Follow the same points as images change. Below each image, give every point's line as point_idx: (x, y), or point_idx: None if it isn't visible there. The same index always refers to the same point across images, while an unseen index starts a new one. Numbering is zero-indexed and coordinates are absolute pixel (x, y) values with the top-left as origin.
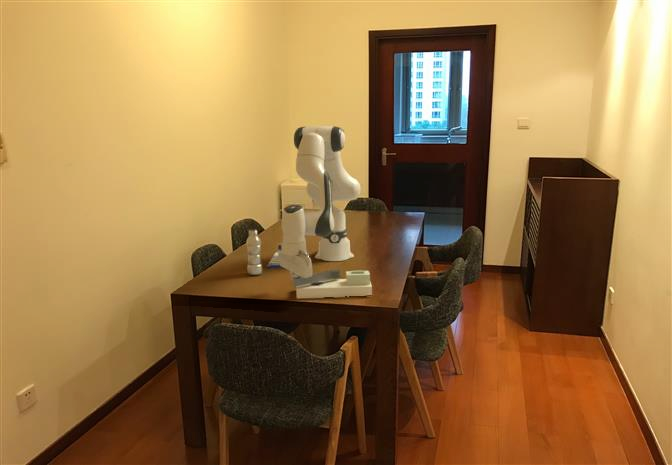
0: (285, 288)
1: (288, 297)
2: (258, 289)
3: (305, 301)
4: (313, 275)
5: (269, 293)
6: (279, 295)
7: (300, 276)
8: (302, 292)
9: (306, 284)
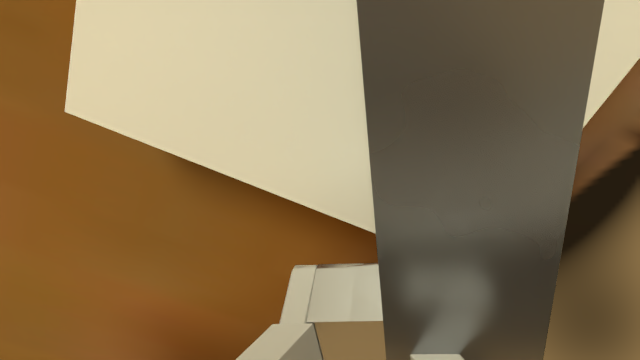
0: (52, 150)
1: (363, 230)
2: (40, 339)
3: (623, 129)
4: (582, 12)
5: (170, 314)
6: (260, 273)
7: (418, 333)
8: None
9: (356, 54)
